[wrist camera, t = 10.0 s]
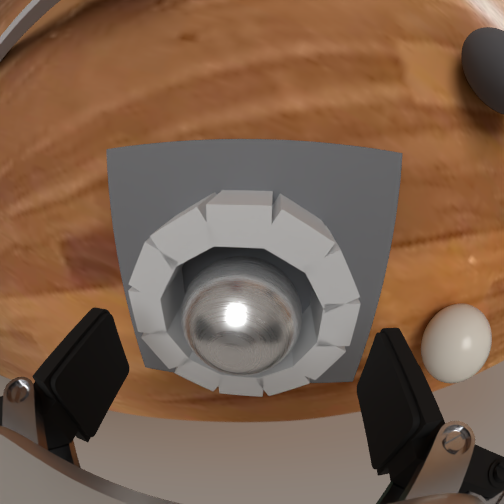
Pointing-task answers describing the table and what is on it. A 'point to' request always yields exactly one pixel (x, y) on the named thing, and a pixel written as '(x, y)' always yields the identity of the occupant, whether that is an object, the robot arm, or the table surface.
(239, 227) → the housing
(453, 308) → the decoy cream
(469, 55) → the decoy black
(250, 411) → the table surface
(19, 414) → the robot arm
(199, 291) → the steel ball
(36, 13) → the caliper
